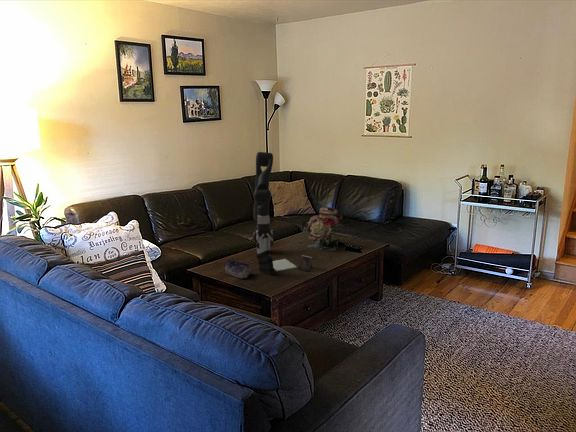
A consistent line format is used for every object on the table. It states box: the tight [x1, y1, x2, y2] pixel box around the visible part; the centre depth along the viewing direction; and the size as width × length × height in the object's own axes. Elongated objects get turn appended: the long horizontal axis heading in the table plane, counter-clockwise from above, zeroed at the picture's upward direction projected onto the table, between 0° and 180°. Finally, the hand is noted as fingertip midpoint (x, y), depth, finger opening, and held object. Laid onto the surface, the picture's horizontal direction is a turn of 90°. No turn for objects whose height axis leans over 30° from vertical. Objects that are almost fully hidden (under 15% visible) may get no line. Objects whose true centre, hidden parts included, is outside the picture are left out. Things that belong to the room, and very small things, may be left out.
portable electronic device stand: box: [296, 254, 315, 273], centre depth 294 cm, size 9×8×8 cm
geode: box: [224, 257, 253, 279], centre depth 288 cm, size 20×12×10 cm, turn 53°
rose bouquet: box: [306, 206, 347, 252], centre depth 337 cm, size 26×29×30 cm
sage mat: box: [273, 258, 298, 272], centre depth 303 cm, size 18×14×1 cm
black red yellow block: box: [256, 249, 276, 276], centre depth 289 cm, size 4×13×15 cm, turn 41°
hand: (264, 247), depth 287 cm, fingers open, 8 cm apart
